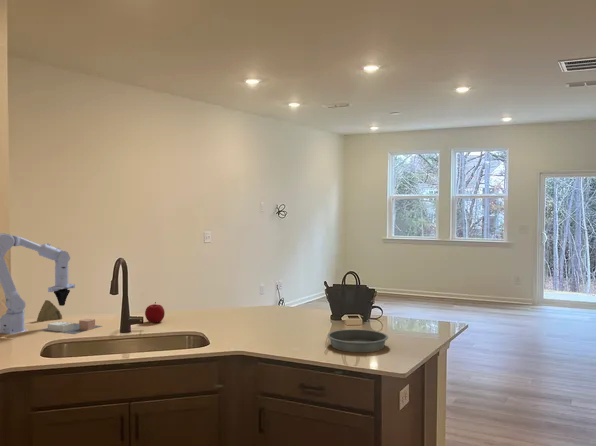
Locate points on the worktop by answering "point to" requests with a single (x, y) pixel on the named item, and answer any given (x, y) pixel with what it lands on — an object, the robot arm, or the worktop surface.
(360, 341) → the cake pan
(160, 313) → the apple
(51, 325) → the white flat block
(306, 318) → the worktop surface
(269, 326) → the worktop surface
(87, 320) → the stub
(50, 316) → the rock
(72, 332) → the mat
